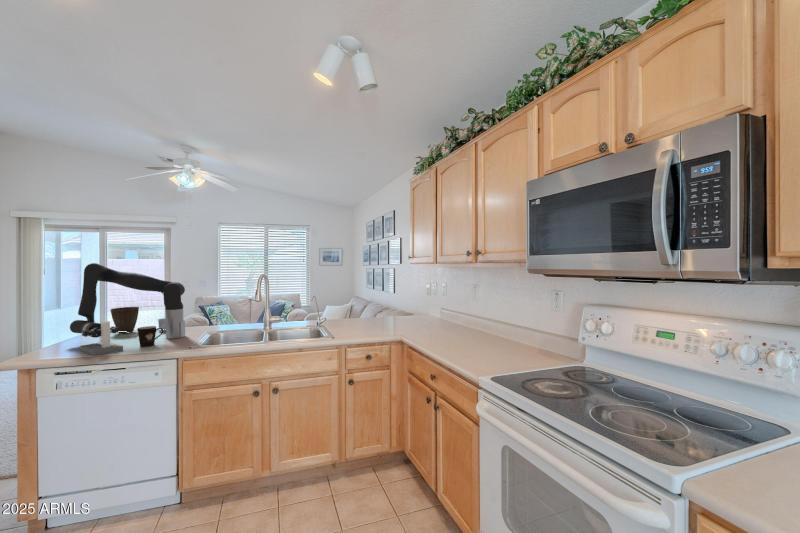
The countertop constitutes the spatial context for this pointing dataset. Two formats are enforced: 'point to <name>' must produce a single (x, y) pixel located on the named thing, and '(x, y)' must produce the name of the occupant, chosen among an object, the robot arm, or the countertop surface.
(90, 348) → the grey base plate
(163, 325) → the medicine box
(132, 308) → the plant pot
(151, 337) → the coffee mug
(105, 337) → the switch handle
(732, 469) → the countertop surface
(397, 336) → the countertop surface
